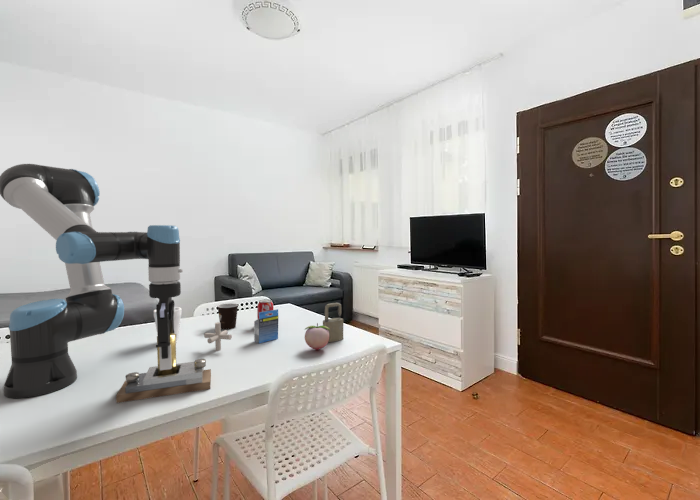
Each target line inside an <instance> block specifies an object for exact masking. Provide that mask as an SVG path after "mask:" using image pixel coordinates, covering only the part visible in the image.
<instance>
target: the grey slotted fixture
mask: <svg viewBox="0 0 700 500" xmlns="http://www.w3.org/2000/svg"><path fill="white" fill-rule="evenodd" d="M206 363H207V360H206V359H205V358H198V359H195V360H194V361H189V362H182V363H176V374H170V375H163V376H158V365H155V366H149V368H148V370H147V372H137V371H135V372H130V373H128V374H126V375H125V380H126V383H128V384H127V386H126V388H125V391H126V394H127V393H134V392H141V391H148V390H155V389H162V388H168V387H175V386H182V385H189V384H196V383H202V381H203V371H204V370H205V369H204V368H206V366H207V364H206Z"/></svg>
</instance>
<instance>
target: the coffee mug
mask: <svg viewBox="0 0 700 500" xmlns="http://www.w3.org/2000/svg"><path fill="white" fill-rule="evenodd" d="M238 308H239V305H238V304H237V303H222V304H218V305H217V311H218V312H217V313H218V319H219V321H218V322H220V325H221V330H223V331H224V330H227V331H228V330H233V329H235V328H237V319H238V318H237V317H238Z"/></svg>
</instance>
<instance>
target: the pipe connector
mask: <svg viewBox="0 0 700 500" xmlns="http://www.w3.org/2000/svg"><path fill="white" fill-rule="evenodd" d="M214 326H215V327H214V332H213V333H212V332H205V333H204V334H203V336H204V338H205V339H207V343H208V344H212V343H214V342H215V345H214V346H215V351H216V352H218V351H221V350H222V340H228V341H229V340H232V334H228V330H224V329H223V331H221V330H222V329H221V325H220V321H217V322H215V323H214Z"/></svg>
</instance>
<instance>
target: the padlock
mask: <svg viewBox="0 0 700 500" xmlns="http://www.w3.org/2000/svg"><path fill="white" fill-rule="evenodd" d="M333 307H337V314H338V317H333V318H329V309H330V308H333ZM341 316H342V304H341V303H340V302H332V303H327V304H325V306H324V320H322V326H326V327H328V328H329V329H330V330H329V329H327V330H328V331H329V341H328V343H334V342H339V341H341V340H344V318H341Z"/></svg>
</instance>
